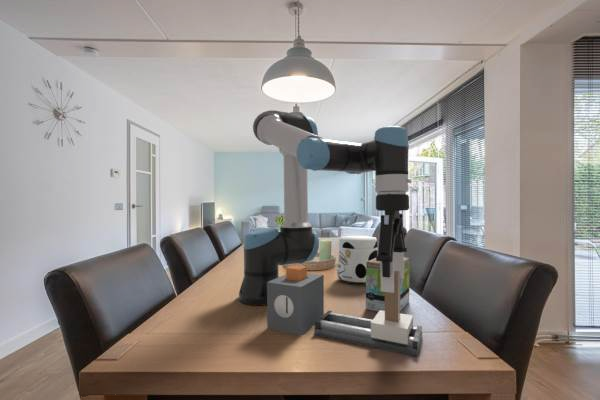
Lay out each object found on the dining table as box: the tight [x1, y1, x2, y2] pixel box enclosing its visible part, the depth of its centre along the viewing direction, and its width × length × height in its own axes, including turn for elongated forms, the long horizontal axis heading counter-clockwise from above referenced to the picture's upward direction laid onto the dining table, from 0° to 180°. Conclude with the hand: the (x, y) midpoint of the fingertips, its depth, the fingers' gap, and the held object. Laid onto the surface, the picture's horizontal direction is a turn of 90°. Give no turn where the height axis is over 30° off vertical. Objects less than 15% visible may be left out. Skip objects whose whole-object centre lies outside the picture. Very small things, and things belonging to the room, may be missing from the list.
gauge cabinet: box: [266, 272, 325, 337], centre depth 84 cm, size 10×14×12 cm
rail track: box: [313, 310, 423, 357], centre depth 75 cm, size 24×10×3 cm, turn 63°
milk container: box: [336, 235, 378, 285], centre depth 127 cm, size 17×17×18 cm
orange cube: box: [285, 264, 308, 281], centre depth 84 cm, size 4×4×4 cm
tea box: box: [365, 256, 411, 313], centre depth 98 cm, size 15×10×15 cm, turn 148°
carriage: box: [371, 271, 414, 345], centre depth 73 cm, size 8×9×14 cm
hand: (393, 284), depth 72 cm, fingers open, 13 cm apart
